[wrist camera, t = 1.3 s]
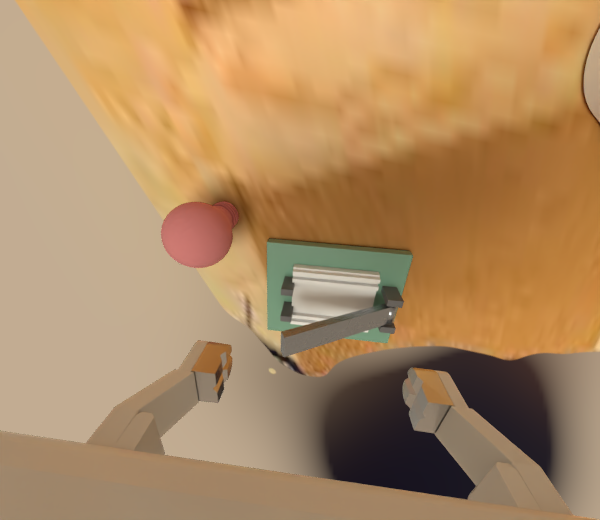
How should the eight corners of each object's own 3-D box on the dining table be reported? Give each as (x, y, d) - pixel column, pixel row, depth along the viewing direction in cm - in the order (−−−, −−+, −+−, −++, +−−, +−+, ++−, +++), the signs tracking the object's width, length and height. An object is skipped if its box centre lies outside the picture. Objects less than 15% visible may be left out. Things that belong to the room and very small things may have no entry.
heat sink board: (409, 250, 33) (422, 267, 29) (385, 336, 40) (392, 360, 36) (269, 238, 34) (260, 252, 30) (269, 323, 41) (262, 345, 37)
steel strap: (392, 299, 33) (400, 306, 32) (387, 316, 35) (395, 323, 33) (280, 329, 27) (285, 339, 26) (279, 348, 28) (284, 359, 27)
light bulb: (218, 244, 36) (172, 287, 25) (193, 199, 33) (129, 226, 22) (260, 229, 34) (229, 269, 23) (237, 181, 31) (191, 200, 21)
